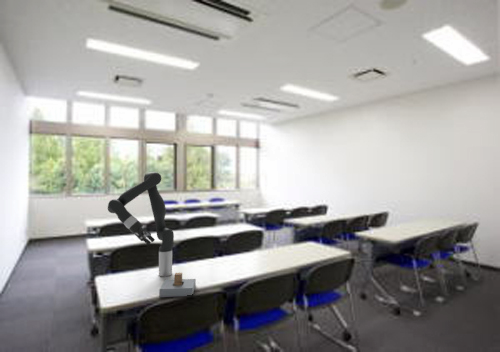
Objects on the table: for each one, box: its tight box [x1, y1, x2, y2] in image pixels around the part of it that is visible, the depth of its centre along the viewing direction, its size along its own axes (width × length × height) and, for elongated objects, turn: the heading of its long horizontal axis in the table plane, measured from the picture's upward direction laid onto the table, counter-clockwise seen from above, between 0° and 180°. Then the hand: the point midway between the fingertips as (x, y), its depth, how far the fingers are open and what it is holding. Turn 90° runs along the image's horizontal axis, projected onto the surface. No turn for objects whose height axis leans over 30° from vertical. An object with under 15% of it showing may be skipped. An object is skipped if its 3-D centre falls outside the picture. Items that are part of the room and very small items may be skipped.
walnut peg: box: [173, 272, 183, 286], centre depth 164 cm, size 4×4×10 cm
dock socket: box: [158, 278, 197, 298], centre depth 164 cm, size 15×19×4 cm
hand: (151, 242), depth 169 cm, fingers open, 8 cm apart
